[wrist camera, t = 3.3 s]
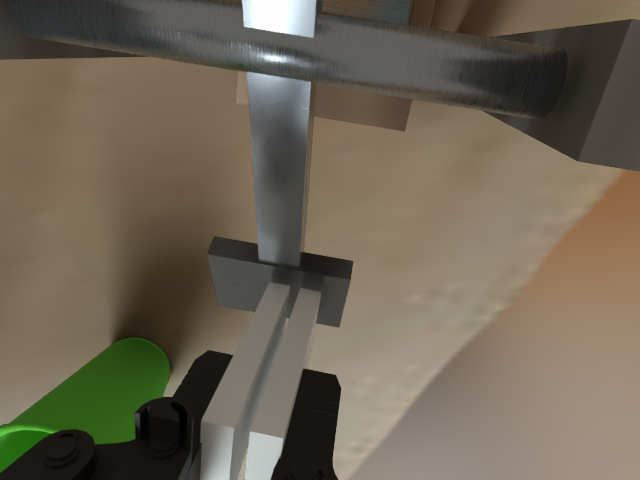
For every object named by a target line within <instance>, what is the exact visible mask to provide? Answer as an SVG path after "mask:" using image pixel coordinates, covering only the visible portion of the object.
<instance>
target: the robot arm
mask: <svg viewBox="0 0 640 480" xmlns="http://www.w3.org/2000/svg"><path fill="white" fill-rule="evenodd" d="M289 292H290V286H287V285H282V284H277V283H272V282H269V284H268V286H267V288H266V290H265V292H264V294H263V297H262V299H261V301H260V303H259V305H258V307H257V309H256V311H255V313H254V315H253V317H252V319H251V321H250V323H249V325H248V327H247V329H246V331H245V333H244V335H243V337H242V339H241V341H240V343H239V345H238V347H237V349H236V351H235V353H234V355H230V354H225V353H220V352H215V351H211V350H208V351H207V352H205V353H204V354H202V355H201V356H200V357H198V358H197V359H195V361H194V363H193V364H192V366H191V368H190V369H189V371H188V374H186V376H185V377H184V379H183V381H182V383H181V385H180V386H179V387H178V389H177V391H176V392H175V394H174V395H173V397H161V398H157V399H152V400H150V401H149V402H147V403H145V404H143V405H142V406H141V407H140V408H139V409H138V410H137V411H136V412H135V439H133V440H130V441H127V442H120V443H108V444H95V442H94V439H93V437H92V436H91V435H90V434H88V433H87V432H86V431H82V430H78V429H68V430H61V431H58V432H55V433H52V434H50V435H48V436H47V437H45V438H43V439H42V440H40V441H39V442H37V443H36V444H35V445H34V446H33V447H31V448H30V449H29V450H28V451H26V452H25V453H24V454H23V455H22V456H20V457H19V458H18V459H17V460H15V461H14V462H13V463H12V464H11V465H9V466H8V467H7V468H6V469H5V470H3V471H2V472H1V473H0V480H237V478H238V475H239V472H240V469H241V466H242V463H243V460H244V457H245V454H246V451H247V448H248V454H247V463H246V472H245V480H338V478H337V476H336V475H335V472H334V469H333V460H332V458H333V450H334V442H335V434H336V426H337V418H338V410H339V402H340V394H341V387H340V384H339V382H338V379H337V377H336V375H333V374H328V373H323V372H318V371H314V370H309V369H307V368H308V363H309V359H310V355H311V350H312V344H313V338H314V332H315V326H316V320H317V314H318V308H319V302H320V297H321V292H319V291H313V290H308V289H303V288H300V291H299V293H298V296H297V299H296V302H295V305H294V308H293V310H292V313H291V316H290V319H289V322H288V325H287V328H286V330H285V333H284V329H285V322H286V314H287V307H288V299H289Z"/></svg>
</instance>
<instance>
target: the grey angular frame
mask: <svg viewBox="0 0 640 480" xmlns="http://www.w3.org/2000/svg"><path fill="white" fill-rule="evenodd" d="M435 3H436V0H410V1H409V12H408V23H407V25H412V26H418V27H425V28H430V26H431V21H432V17H433V12H434V8H435ZM489 38H496V39H502V40H509V41H515V42H522V43H528V44H535V45H541V46H547V47H554V48H560V49H564V50H565V51H566V53H567V58H568V65H567V73H566V77H565V81H564V85H563V88H562V90H561V93H560V95H559V98H558V100H557V102H556V104H555V105H554V107H553V109H552V110H551V111H550V113H549V114H548V115H547V116H546V117H545V118H543V119H541V120H538V119H532V118H526V117H519V116H513V115H507V114H501V113H495V112H489V111H484V112H486V113H488V114H490V115H491V116H493V117H495V118H497V119H499V120H501V121H503V122H505V123H506V124H508V125H510V126H512V127H514V128H516V129H518V130H520V131H522V132H523V133H525V134H527V135H529V136H531V137H533V138H535V139H537V140H539V141H540V142H542V143H544V144H546V145H548V146H550V147H552V148H554V149H556V150H557V151H559V152H561V153H563V154H565V155H567V156H569V157H571V158H573V159H574V160H576V161H579V162H585V163H591V164H597V165H603V166H609V167H615V168H622V169H628V170H634V171H640V20H635V19H629V20H621V21H614V22H606V23H598V24H590V25H582V26H574V27H566V28H559V29H551V30H543V31H535V32H527V33H519V34H511V35H504V36H496V37H489ZM102 57H149V56H143V55H137V54H130V53H124V52H118V51H112V50H106V49H100V48H93V47H87V46H81V45H75V44H69V43H62V42H56V41H50V40H44V39H38V38H32V37H29V36H27V35H25V34H24V33H23V32H22V31H21V30H20V29H19V28H18V27H17V25H16V24H15V22H14V20H13V18H12V16H11V13H10V10H9V7H8V2H7V0H0V59H50V58H102ZM411 101H412V99H408V98H402V97H396V96H390V95H384V94H377V93H371V92H365V91H359V90H353V89H347V88H340V87H334V86H328V85H322V84H317V85H316V98H315V111H314V116H315V117H321V118H327V119H333V120H339V121H345V122H351V123H357V124H364V125H370V126H376V127H382V128H388V129H394V130H400V131H405V128H406V124H407V119H408V115H409V110H410V105H411ZM236 104H242V105H248V106H249V99H248V83H247V72H242V71H238V78H237V93H236Z"/></svg>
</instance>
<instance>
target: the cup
mask: <svg viewBox="0 0 640 480" xmlns="http://www.w3.org/2000/svg"><path fill="white" fill-rule="evenodd" d="M169 376H170V364H169V361H168V358H167V356H166V355H165V353H164V352H163V351H162V350H161V349H160V348H159V347H158V346H157V345H155V344H154V343H152V342H150V341H148V340H146V339H142V338H136V337H130V338H125V339H123V340H119V341H117V342H115V343H113V344H112V345H111V346H109V347H108V348H107V349H105V350H104V351H103V352H101V353H100V354H99V355H98V356H96V357H95V358H94V359H92V360H91V361H90V362H88V363H87V364H86V365H85V366H83V367H82V368H81V369H79V370H78V371H77V372H75V373H74V374H73V375H72V376H70V377H69V378H68V379H66V380H65V381H64V382H62V383H61V384H60V385H59V386H57V387H56V388H55V389H53V390H52V391H51V392H49V393H48V394H47V395H46V396H44V397H43V398H42V399H40V400H39V401H38V402H36V403H35V404H34V405H33V406H31V407H30V408H29V409H27V410H26V411H25V412H23V413H22V414H21V415H20V416H18V417H17V418H16V419H14V420H13V421H12V422H10V423H9V424H3V425H1V426H0V473H1V472H2V471H3V470H5V469H6V468H7V467H8V466H9V465H11V464H12V463H13V462H14V461H15V460H17V459H18V458H19V457H20V456H22V455H23V454H24V453H25V452H26V451H28V450H29V449H30V448H31V447H33V446H34V445H35V444H36V443H37V442H39V441H40V440H42V439H43V438H45V437H47V436H48V435H50V434H52V433H55V432H58V431H61V430H68V429H78V430H82V431H86V432H87V433H88V434H90V435H91V436H92V437H93V439H94V442H95V444H108V443H120V442H127V441H130V440H133V439H135V412H136V411H137V410H138V409H139V408H140V407H141V406H142V405H143V404H145V403H147V402H149V401H150V400H152V399H157V398H161V397H163V394H164V391H165V388H166V386H167V383H168V380H169Z"/></svg>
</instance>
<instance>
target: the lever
mask: <svg viewBox="0 0 640 480" xmlns="http://www.w3.org/2000/svg"><path fill="white" fill-rule="evenodd" d="M409 1H410V0H7V2H8V7H9V10H10V13H11V16H12V18H13V20H14V22H15V24H16V25H17V27H18V28H19V29H20V30H21V31H22V32H23V33H24V34H25V35H27V36H29V37H32V38H38V39H44V40H50V41H56V42H62V43H69V44H75V45H81V46H87V47H93V48H100V49H106V50H112V51H118V52H124V53H130V54H137V55H143V56H149V57H155V58H161V59H167V60H174V61H180V62H186V63H192V64H198V65H204V66H211V67H217V68H223V69H229V70H235V71H242V72H247V83H248V99H249V114H250V130H251V145H252V161H253V176H254V192H255V207H256V223H257V239H258V244H254V243H249V242H243V241H238V240H232V239H226V238H221V237H215V236H214V238H213V241H212V243H211V246H210V248H209V251H208V253H207V256H208V261H209V265H210V270H211V274H212V279H213V283H214V288H215V292H216V297H217V301H218V305H220V306H225V307H231V308H236V309H242V310H247V311H253V312H255V311H256V309H257V307H258V305H259V303H260V301H261V299H262V297H263V294H264V292H265V290H266V288H267V286H268V284H269V282H272V283H277V284H282V285H287V286H290V292H289V299H288V307H287V314H286V318H290V316H291V313H292V310H293V308H294V305H295V302H296V299H297V296H298V293H299V291H300V288H303V289H308V290H313V291H319V292H321V297H320V302H319V308H318V314H317V320H316V323H317V324H323V325H328V326H334V327H339V326H340V322H341V318H342V313H343V309H344V305H345V301H346V297H347V293H348V288H349V284H350V280H351V273H352V266H353V261H350V260H344V259H338V258H333V257H327V256H322V255H316V254H310V253H305V252H304V244H305V230H306V217H307V204H308V191H309V177H310V164H311V151H312V138H313V125H314V111H315V98H316V85H317V84H322V85H328V86H334V87H340V88H347V89H353V90H359V91H365V92H371V93H377V94H384V95H390V96H396V97H402V98H408V99H414V100H421V101H427V102H433V103H439V104H445V105H451V106H458V107H464V108H470V109H476V110H482V111H489V112H495V113H501V114H507V115H513V116H519V117H526V118H532V119H538V120H541V119H543V118H545V117H546V116H547V115H548V114H549V113H550V111H551V110H552V109H553V107H554V105H555V104H556V102H557V100H558V98H559V95H560V93H561V90H562V88H563V85H564V81H565V77H566V73H567V65H568V58H567V53H566V51H565V50H564V49H560V48H554V47H547V46H541V45H535V44H528V43H522V42H515V41H509V40H502V39H496V38H489V37H483V36H476V35H470V34H464V33H457V32H451V31H444V30H438V29H431V28H425V27H418V26H412V25H407V23H408V12H409Z"/></svg>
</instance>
